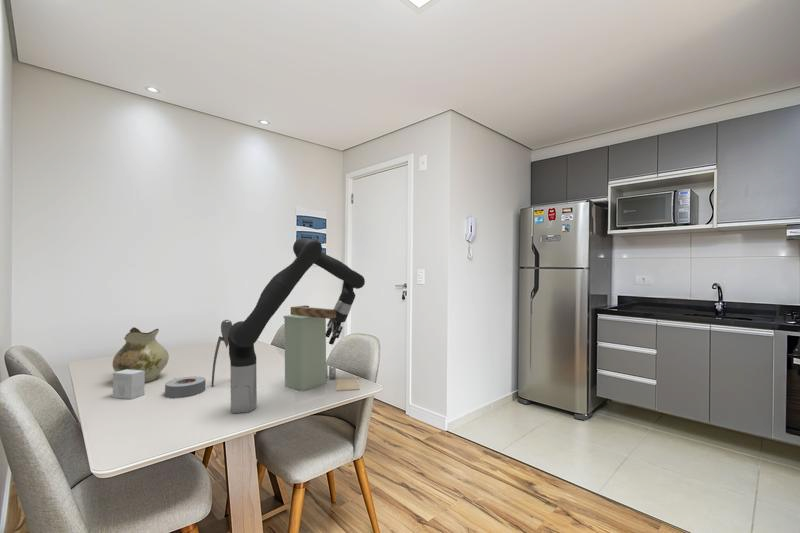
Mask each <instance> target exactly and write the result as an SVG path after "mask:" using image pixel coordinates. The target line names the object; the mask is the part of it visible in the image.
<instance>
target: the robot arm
mask: <svg viewBox="0 0 800 533" xmlns="http://www.w3.org/2000/svg"><path fill="white" fill-rule="evenodd" d="M292 250H293V253H294V255H295V256H296V257H295V259H294V260H293V261H292V262H291V264H289V265H287V267H285V268H284V269H281V271H279V272H278V273H276V274H275V275H274V276H273V277H272V278H271V279H270V280H269V282H268V283H267V284H266V285H265V287H264V289H263V290H262V291H261V294H260V296H259V297H258V300H257V303H256V305H255V307H254V308H253V310H252V311H251V313H250V314H249V315H248V316H247V317H246V319H245V320H243V321H241V320H240V321H237V322H235V323H232V327H231V328H230V331H229V344H228V356H229V357H228V358H229V362H230V365H229V366H230V411H231V413H232V414H240V413H250V412H251V411H253V410H255V409H257V407H258V404H257V403H258V398H257V397H258V396H257V395H258V394H257V393H258V392H257V386H258V385H257V354H256V351H255V345H254V344H255V343H256V342H257V341H258V340H259V338H260V336H261V335H262V333H263V330H264V329H265V328H266V326H267V324H269V321H270V320H271V319H272V317H273V316H274V314H276V312H277V311H278V310H279V309H280V307H281V305H283V303H284V302H285V301H286V300H287V298H288V297H289V295H290V294H291V292H293V289H294V288H295V287H296V286H297V285H298V283H299V282H300V281H301V279H302V278H303V276H305V273H306V272H308V270H309V269H310V268H311V267H312V266H313V265H316V266H317V267H320V268H322V269H323V270H325V271H326V272H328V273H329V274H331V275H332V276H334V277H336V278H338V279H339V280H341V281H343V282H342V287H341V293H340V296H339V297H338V300H337V302H336V303H335V304H334V308H333V309H334V310H336V318H331V319H328V320H329V321H328V323H327V324H326V327H327V328H326V338H329V342H328V344H329V345H330V346H331V345H334V344H335V342H336V339H339V338H340V336H341V332H342V330H343V326H342V323H345V322H346V321H347V318H348V316H349V314H350V311H351V309H352V305H353V303H354V301H355V299H356V293H355V291H354V289H355V290H357V289H358V290H359V289H361V288H363V287H364V286H365V284H366V281H365V277H364V276H363V275H362V274H360V273H358V272H357V271H355V270H353V269H351V267H349V266H348V265H347V264H345V263H343V262H342V261H340V260H338V259H337V258H334V257H332V256H330V255H328V254H326V253H324V252H323V247H322V243H321V242H320V241H319V240H316V239H312V238H307V237H301V238H298V239H297V240H295V242H294V243H293V247H292Z"/></svg>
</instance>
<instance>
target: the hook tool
mask: <svg viewBox="0 0 800 533" xmlns="http://www.w3.org/2000/svg"><path fill="white" fill-rule="evenodd" d="M290 315H300V316H309V317H318V318H326V320H327V319H328V320H330V319H331V318H336V310H334V308H331V309H330V308H323V307H322V308H319V307H310V305H297V306H296V305H295V306H290Z"/></svg>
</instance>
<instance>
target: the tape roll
mask: <svg viewBox="0 0 800 533" xmlns="http://www.w3.org/2000/svg"><path fill="white" fill-rule="evenodd" d="M204 392H206V377H203V376H192V375H191V376H184V377H177V378H174V379H170V380H167V381H166V382H165V384H164V394H165V395H164V396H165V397H166V398H168V397H169V398H168V399H182V398H184V399H185V398H190V397H194V396H197V394H198V395H200V394H202V393H204Z"/></svg>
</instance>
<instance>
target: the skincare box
mask: <svg viewBox="0 0 800 533" xmlns="http://www.w3.org/2000/svg"><path fill="white" fill-rule="evenodd" d="M145 383H146V382H145V371H141V370H129V369H126V370H122V371H117V372H115V371H114V372H112V398H114V397H115V399H116V398H117V399H118V398H119V399H125V400H133V399H135V398H136V399H137V398H139V397H142V396H144V395H145V391H146V390H145V388H146V386H145Z"/></svg>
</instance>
